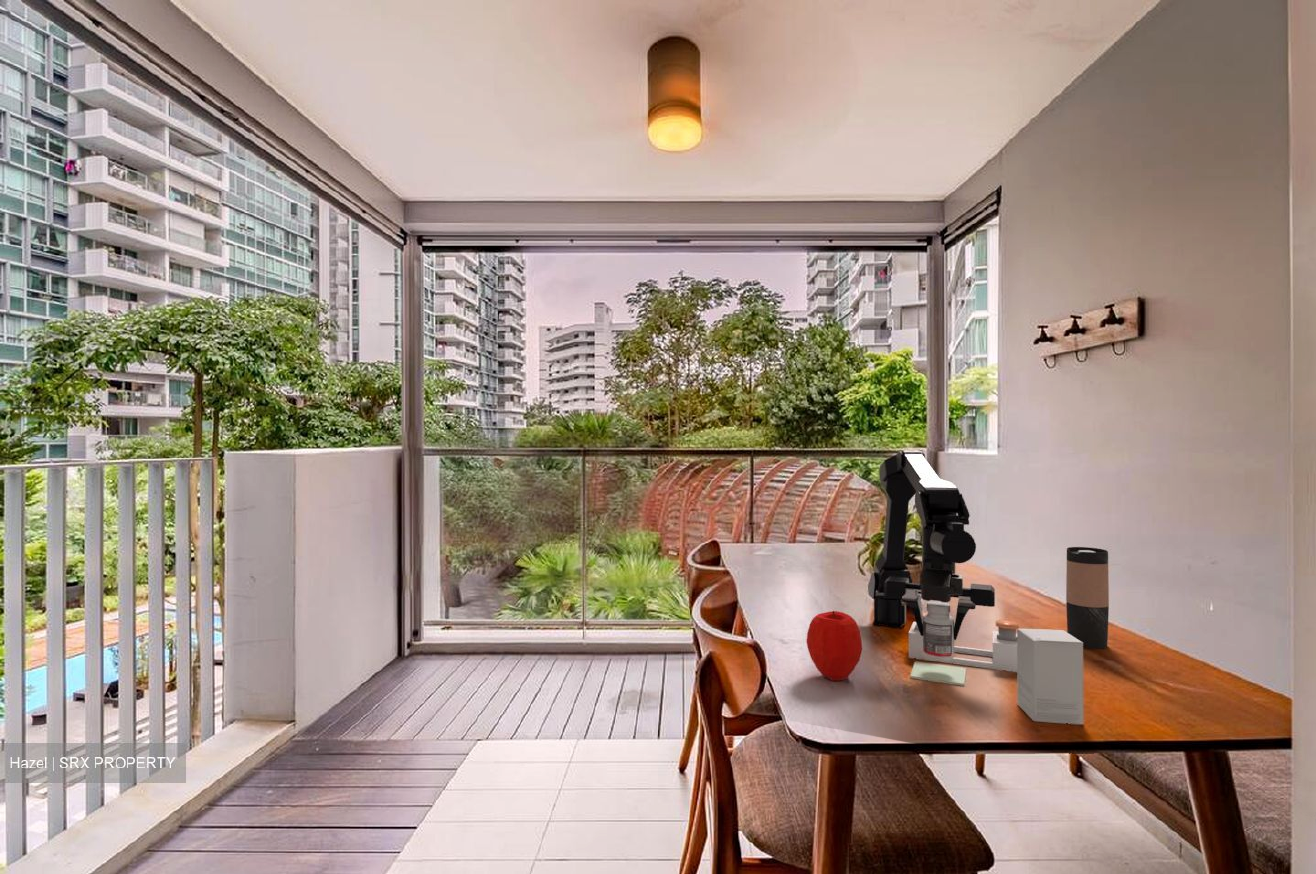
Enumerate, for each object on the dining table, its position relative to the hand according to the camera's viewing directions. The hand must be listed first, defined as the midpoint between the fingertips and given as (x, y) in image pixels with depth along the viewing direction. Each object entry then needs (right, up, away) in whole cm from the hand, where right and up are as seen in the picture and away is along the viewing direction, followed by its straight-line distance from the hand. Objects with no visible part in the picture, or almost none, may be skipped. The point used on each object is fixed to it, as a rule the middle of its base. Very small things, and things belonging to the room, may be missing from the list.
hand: (938, 637), depth 126 cm
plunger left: (+2, -4, +12) cm, 13 cm away
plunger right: (+16, -4, +6) cm, 17 cm away
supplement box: (+10, -7, -18) cm, 22 cm away
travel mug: (+39, -7, +18) cm, 44 cm away
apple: (-20, -7, -2) cm, 21 cm away
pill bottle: (0, -4, 0) cm, 4 cm away
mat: (0, -7, 0) cm, 7 cm away
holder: (+9, -7, +9) cm, 14 cm away
